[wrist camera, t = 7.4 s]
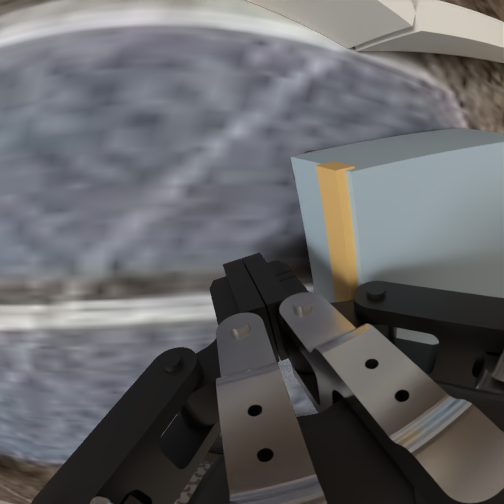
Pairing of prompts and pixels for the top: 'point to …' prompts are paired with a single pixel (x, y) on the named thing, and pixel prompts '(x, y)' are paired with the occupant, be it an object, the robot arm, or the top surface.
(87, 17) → the top surface
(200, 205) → the top surface
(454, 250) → the light blue box
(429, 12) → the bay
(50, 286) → the top surface
